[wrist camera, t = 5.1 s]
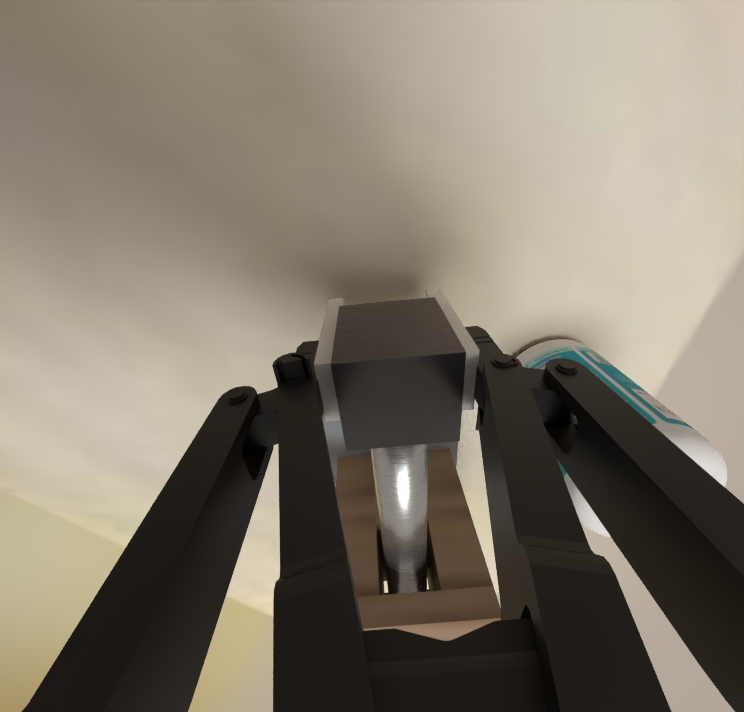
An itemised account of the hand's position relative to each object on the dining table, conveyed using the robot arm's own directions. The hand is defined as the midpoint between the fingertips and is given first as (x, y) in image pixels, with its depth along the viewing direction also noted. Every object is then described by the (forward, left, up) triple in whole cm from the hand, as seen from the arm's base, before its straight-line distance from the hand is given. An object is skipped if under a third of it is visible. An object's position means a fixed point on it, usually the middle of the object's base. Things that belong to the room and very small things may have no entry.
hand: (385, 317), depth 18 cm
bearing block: (+20, 0, -4) cm, 21 cm away
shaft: (+10, 0, +2) cm, 10 cm away
